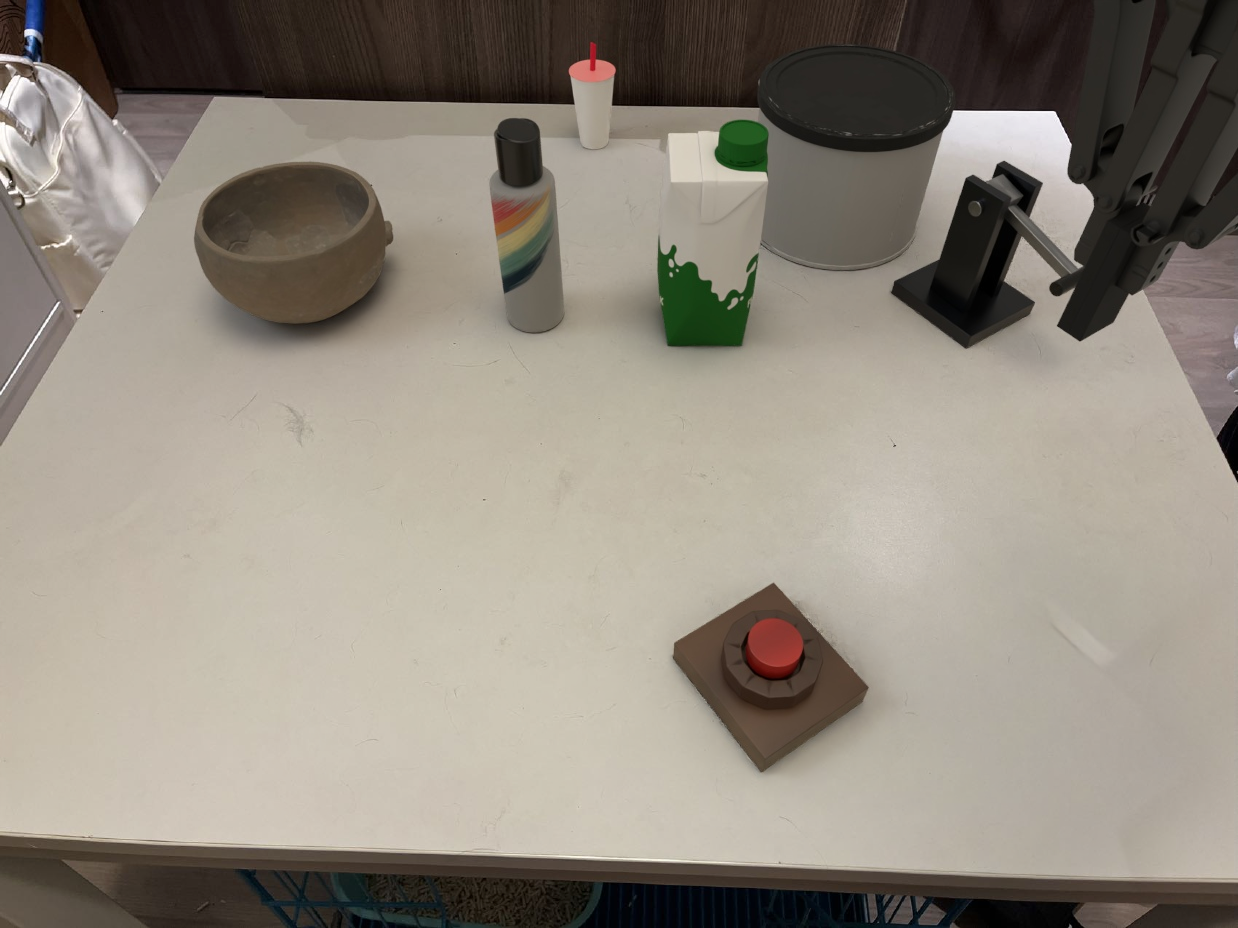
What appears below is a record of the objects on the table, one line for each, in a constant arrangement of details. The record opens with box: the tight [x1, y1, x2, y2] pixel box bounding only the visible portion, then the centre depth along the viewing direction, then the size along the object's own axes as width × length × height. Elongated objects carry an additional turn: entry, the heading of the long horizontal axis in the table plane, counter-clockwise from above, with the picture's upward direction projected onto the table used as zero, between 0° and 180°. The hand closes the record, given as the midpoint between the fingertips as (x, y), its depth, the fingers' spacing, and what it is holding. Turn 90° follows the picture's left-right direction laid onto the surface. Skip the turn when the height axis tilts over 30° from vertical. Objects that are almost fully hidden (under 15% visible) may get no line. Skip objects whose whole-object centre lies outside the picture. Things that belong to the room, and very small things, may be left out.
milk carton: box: [656, 119, 769, 347], centre depth 80 cm, size 9×9×20 cm
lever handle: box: [985, 174, 1085, 297], centre depth 78 cm, size 12×5×2 cm, turn 33°
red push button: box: [746, 618, 803, 679], centre depth 59 cm, size 4×4×2 cm
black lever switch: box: [891, 160, 1044, 349], centre depth 83 cm, size 10×9×14 cm
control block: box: [672, 582, 870, 773], centre depth 61 cm, size 10×9×4 cm
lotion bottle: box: [488, 117, 565, 334], centre depth 80 cm, size 6×6×20 cm
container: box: [756, 43, 957, 271], centre depth 92 cm, size 19×19×15 cm
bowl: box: [193, 161, 394, 324], centre depth 87 cm, size 17×18×10 cm
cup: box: [568, 41, 617, 150], centre depth 104 cm, size 5×5×12 cm
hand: (1085, 324), depth 47 cm, fingers closed
